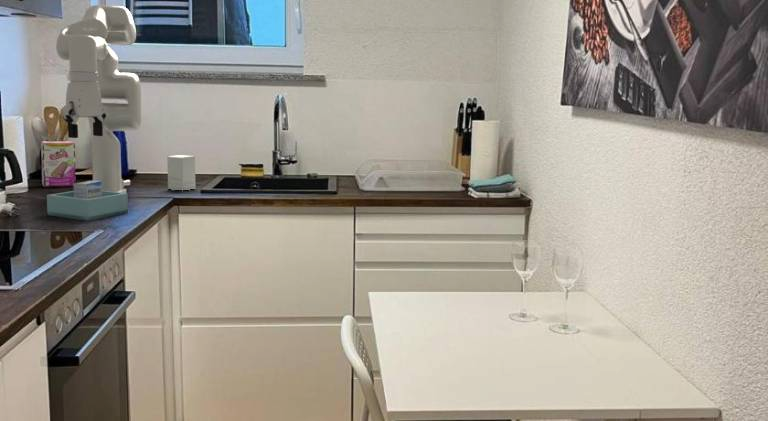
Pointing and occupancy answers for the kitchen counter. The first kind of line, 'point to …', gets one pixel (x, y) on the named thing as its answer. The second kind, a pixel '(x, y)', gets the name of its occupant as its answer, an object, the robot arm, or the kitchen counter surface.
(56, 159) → the candy bar box
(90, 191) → the medicine box
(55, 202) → the collection bin
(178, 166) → the supplement box
